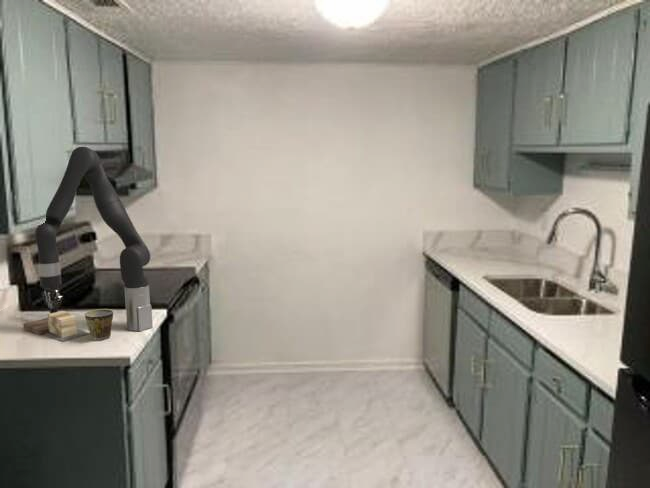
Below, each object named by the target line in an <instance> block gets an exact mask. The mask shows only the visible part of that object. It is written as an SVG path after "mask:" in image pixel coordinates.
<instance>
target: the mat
mask: <svg viewBox="0 0 650 488" xmlns="http://www.w3.org/2000/svg"><path fill="white" fill-rule="evenodd" d="M87 335H90V332H88V331H84V330H82V329H79V328H77V334H75V335H71V336H68V337H64V338H61V337H59V336H57V335H55V334H53V333H51V332H49V333H45V334H44V335H43V336H46V337H49V338H51V339H54V340H56V341H59V342H67V341H70V340H74V339H78V338H81V337H83V336H84V337H85V336H87Z"/></svg>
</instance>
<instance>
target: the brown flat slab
mask: <svg viewBox="0 0 650 488" xmlns="http://www.w3.org/2000/svg"><path fill="white" fill-rule="evenodd" d="M22 327H23V330H25V331H28V332H31V333H35V334H36V335H38V336H45V335H44V334H45V333H49V325H48V317H46V318H41V319H37V320H33V321H30V322H25V323H23V324H22Z"/></svg>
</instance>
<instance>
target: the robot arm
mask: <svg viewBox="0 0 650 488" xmlns="http://www.w3.org/2000/svg"><path fill="white" fill-rule="evenodd" d="M83 177H84V178H85V180H86V181H87V183H88V185H89V186H90V189H91V192H92V197H93V201H94V203H95V207H96V209H97V212H99V213H98V214H99V215H100V216H101V218H102V220H103V221H104V223H105V224H106V225H107V226H108V228H110V229H111V230H112V231H113V232H114V233H115V234H116V235H117V236H118V237H119V238H120V240H121V241H122V243H123V244H124V245H123V246H124V247H125V248H124V249H122V250H121V252H120V254H119V265H120V266H119V267H120V269H119V270H120V274H121V275H120V276H121V281H122V282H123V286H124V302H125V313H126V314H125V315H126V327H127V328H126V329H127V330H128V331H133V332H142V331H144V330H145V331H146V330H149V329H151V328H154V327H153V312H152V310H153V308H152V307H153V306H152V304H151V301H150V300H151V298H150V281H149V277H148V276H145V274H144V267H146V266H147V265H148V264H149V263H150V261H151V253H150V250H149V247H148V246H147V245H146V243H145V242H144V240H143V239H142V237H141V236H140V234H139V233H138V231H137V229H136V227H135V226H134V224H133V222H132V220H131V217H130V216H129V214H128V212H127V210H126V207H125V206H124V204H123V202H122V199H121V198H120V197H119V195H118V193H117V191H116V190H115V187H114V186H113V184H112V183H111V181H110V180H109V179H108V176H107V174H106V171H105V169H104V167H103V163H102V162H101V159H100V156H99V154H98V153H97V152H96V151H95V150H94V149H91V148H89V147H87V146H77V147H76V148H75V149H73V150H72V152H71V154H70V156H69V160H68V163H67V166H66V169H65V172H64V174H63V177H62V179H61V181H60V184H59V186H58V187H57V190H56V191H55V193H54V196H53V198H52V199H51V201H50V203H49V205H48V207H47V209H46V211H45V214H46V221H45V223H43V224H41V225H39V224H38V225H37V227H36V229H35V231H34V232H35V242H36V246H37V251H38V252H37V257H38V275H39V284H40V285H39V286H40V287H41V288H43V290H44V291H42V292H41V294H40V295H41V297H42V299H43V301H44V303H45V306H48V307H47V308H48V309H49V314H50V313H55V312H58V308H59V307H61V304H62V302H63V300H64V295H60V289H59V287H60V286H62V282H63V281H62V272H61V271H62V270H61V265H60V259H59V258H60V256H59V250H58V247H57V233H58V231H59V229H60V227H61V225H62V223H63V220H64V219H66V216H67V215H68V213H69V212H70V209H71V208H72V206H73V204H74V200H75V197H76V195H77V190H78V188H79V185H80V183H81V181H82V180H83Z"/></svg>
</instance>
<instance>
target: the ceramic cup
mask: <svg viewBox="0 0 650 488" xmlns="http://www.w3.org/2000/svg"><path fill="white" fill-rule="evenodd" d="M84 316H85V317H84V318H85V322H86V324H87V327H88V331H89V332H88V333H90V334H89V335H90V339H91V340H92V341H95V342H101V341H105V340H108V339H110V337H111V335H112V334H111V333H112V323H113V319H114V310H113V309H111V308H110V309H109V308H99V309H91V310H88V311H86V312H85V313H84Z"/></svg>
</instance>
